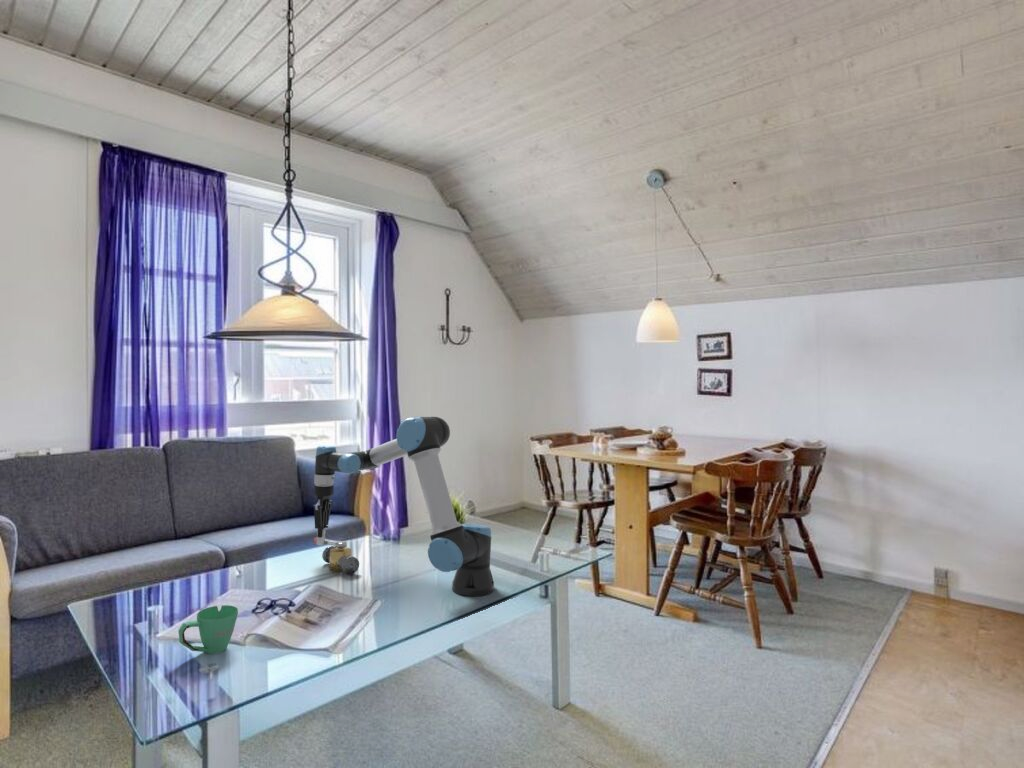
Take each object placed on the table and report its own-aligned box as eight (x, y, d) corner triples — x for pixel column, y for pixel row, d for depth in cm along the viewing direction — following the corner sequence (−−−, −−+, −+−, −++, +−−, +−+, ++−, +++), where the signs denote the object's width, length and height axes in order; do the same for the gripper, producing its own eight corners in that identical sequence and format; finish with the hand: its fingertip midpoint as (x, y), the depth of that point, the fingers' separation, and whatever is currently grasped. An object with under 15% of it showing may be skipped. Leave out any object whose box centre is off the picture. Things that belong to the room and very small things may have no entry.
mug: (224, 638, 160) (225, 602, 160) (243, 648, 154) (245, 611, 154) (168, 657, 148) (170, 618, 148) (187, 669, 142) (189, 628, 142)
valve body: (361, 573, 220) (361, 551, 220) (341, 577, 215) (342, 554, 215) (338, 561, 235) (339, 540, 235) (319, 564, 230) (320, 543, 230)
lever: (349, 546, 226) (349, 542, 226) (341, 548, 222) (341, 544, 222) (320, 540, 233) (320, 536, 233) (312, 542, 229) (312, 538, 229)
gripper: (326, 487, 221) (322, 549, 220) (339, 483, 234) (336, 541, 233) (307, 486, 221) (304, 548, 221) (321, 482, 234) (318, 540, 234)
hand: (320, 544), depth 227 cm, fingers closed
